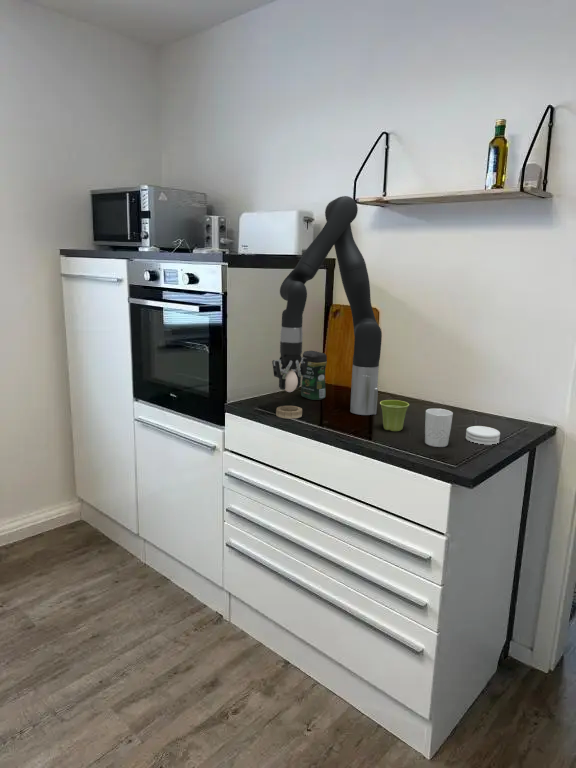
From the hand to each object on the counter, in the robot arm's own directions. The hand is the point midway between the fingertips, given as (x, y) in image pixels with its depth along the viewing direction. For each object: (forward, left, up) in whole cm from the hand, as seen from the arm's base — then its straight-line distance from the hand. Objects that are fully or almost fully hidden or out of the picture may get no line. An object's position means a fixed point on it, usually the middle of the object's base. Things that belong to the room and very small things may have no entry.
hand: (289, 388), depth 196 cm
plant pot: (-35, +10, -10) cm, 38 cm away
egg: (0, 0, -2) cm, 2 cm away
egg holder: (0, 0, -10) cm, 10 cm away
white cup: (-47, +23, -10) cm, 53 cm away
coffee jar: (-7, -27, -10) cm, 29 cm away
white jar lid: (-62, +17, -10) cm, 65 cm away
